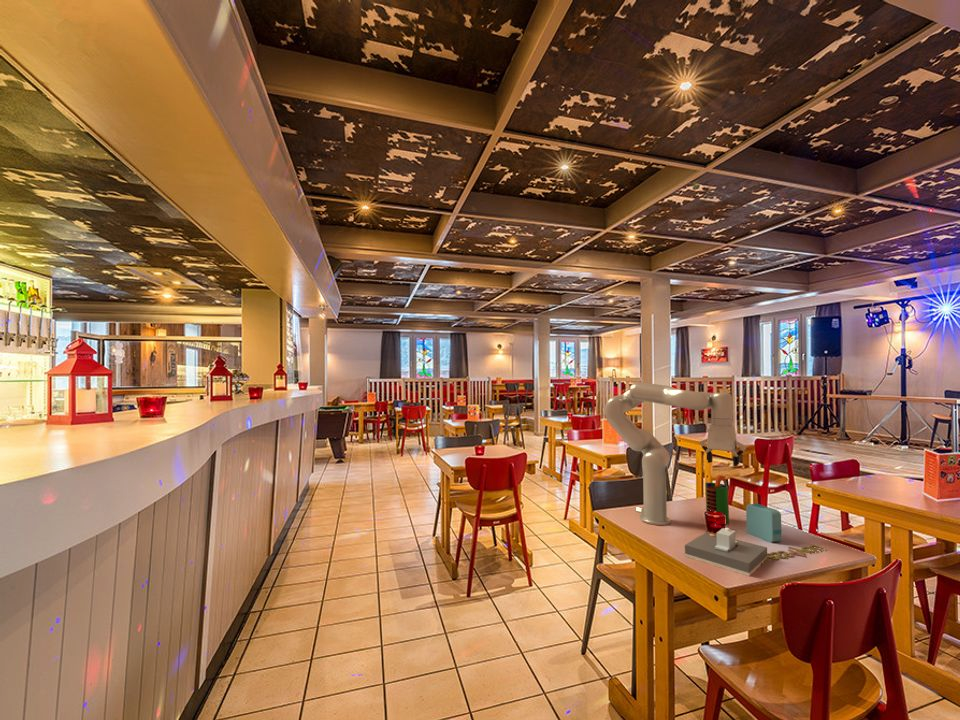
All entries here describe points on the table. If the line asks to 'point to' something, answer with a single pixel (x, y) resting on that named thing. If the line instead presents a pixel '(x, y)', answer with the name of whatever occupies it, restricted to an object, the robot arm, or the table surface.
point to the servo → (726, 540)
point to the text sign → (792, 553)
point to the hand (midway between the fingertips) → (722, 464)
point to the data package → (764, 522)
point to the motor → (717, 497)
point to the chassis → (727, 554)
